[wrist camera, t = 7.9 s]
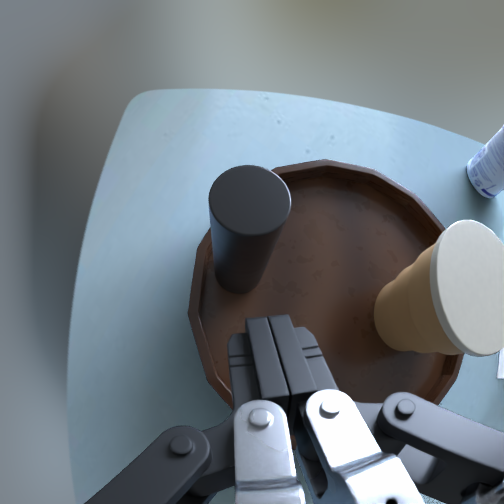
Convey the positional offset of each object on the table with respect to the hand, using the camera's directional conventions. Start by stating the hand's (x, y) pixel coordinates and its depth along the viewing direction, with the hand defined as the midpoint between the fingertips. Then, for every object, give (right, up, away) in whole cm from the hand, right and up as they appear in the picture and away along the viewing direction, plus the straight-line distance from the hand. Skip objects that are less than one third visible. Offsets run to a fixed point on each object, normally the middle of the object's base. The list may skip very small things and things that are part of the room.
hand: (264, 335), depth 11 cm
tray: (+6, 0, +9) cm, 11 cm away
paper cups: (+10, -1, +8) cm, 13 cm away
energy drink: (+27, +12, +18) cm, 35 cm away
